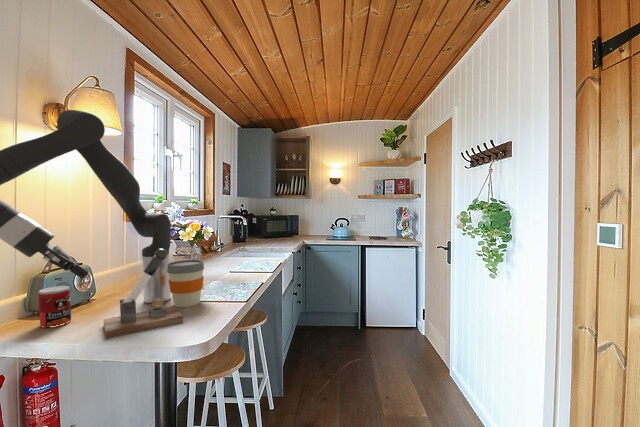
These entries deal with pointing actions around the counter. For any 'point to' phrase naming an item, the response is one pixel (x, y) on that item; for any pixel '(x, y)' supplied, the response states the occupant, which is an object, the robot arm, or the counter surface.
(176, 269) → the reusable coffee cup
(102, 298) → the counter surface
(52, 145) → the robot arm
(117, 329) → the nutcracker bench
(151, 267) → the lever
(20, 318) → the counter surface
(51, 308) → the canned food
